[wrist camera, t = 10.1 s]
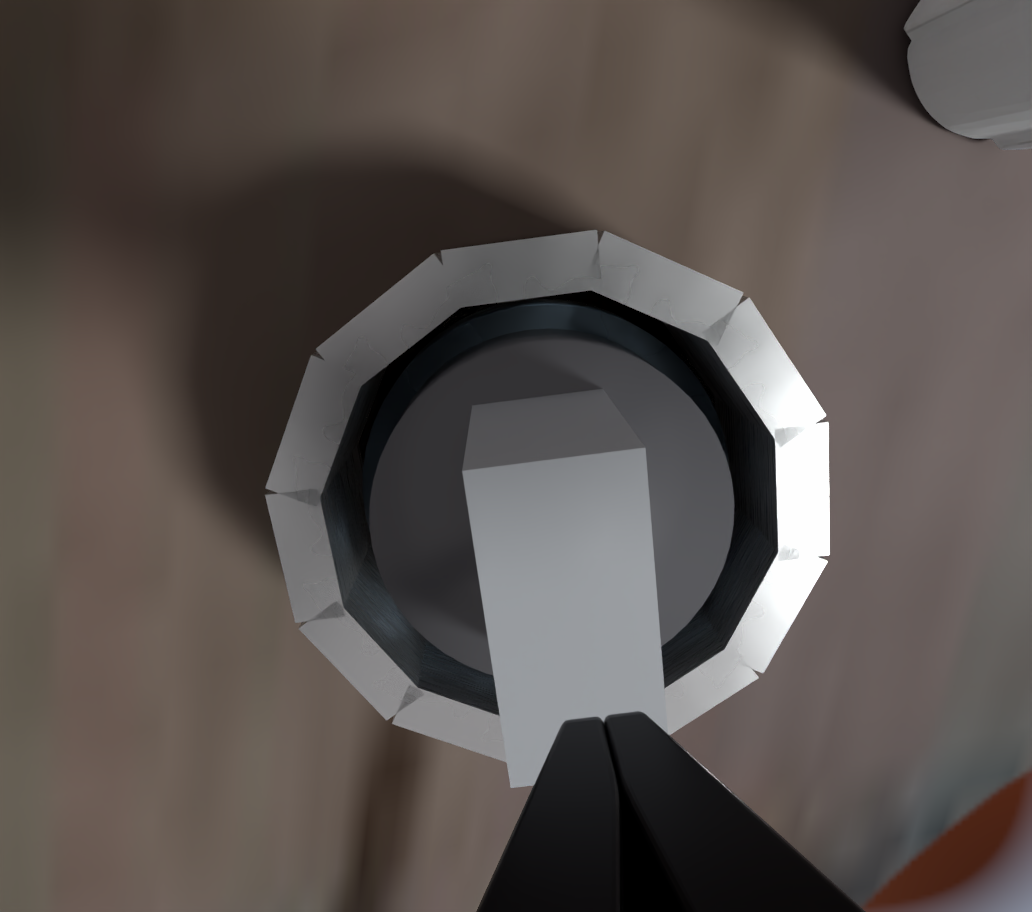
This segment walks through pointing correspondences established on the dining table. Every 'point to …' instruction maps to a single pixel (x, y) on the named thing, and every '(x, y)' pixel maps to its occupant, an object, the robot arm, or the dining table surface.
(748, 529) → the faceted white dish
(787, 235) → the dining table surface
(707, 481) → the grey knob
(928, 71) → the photo printer
